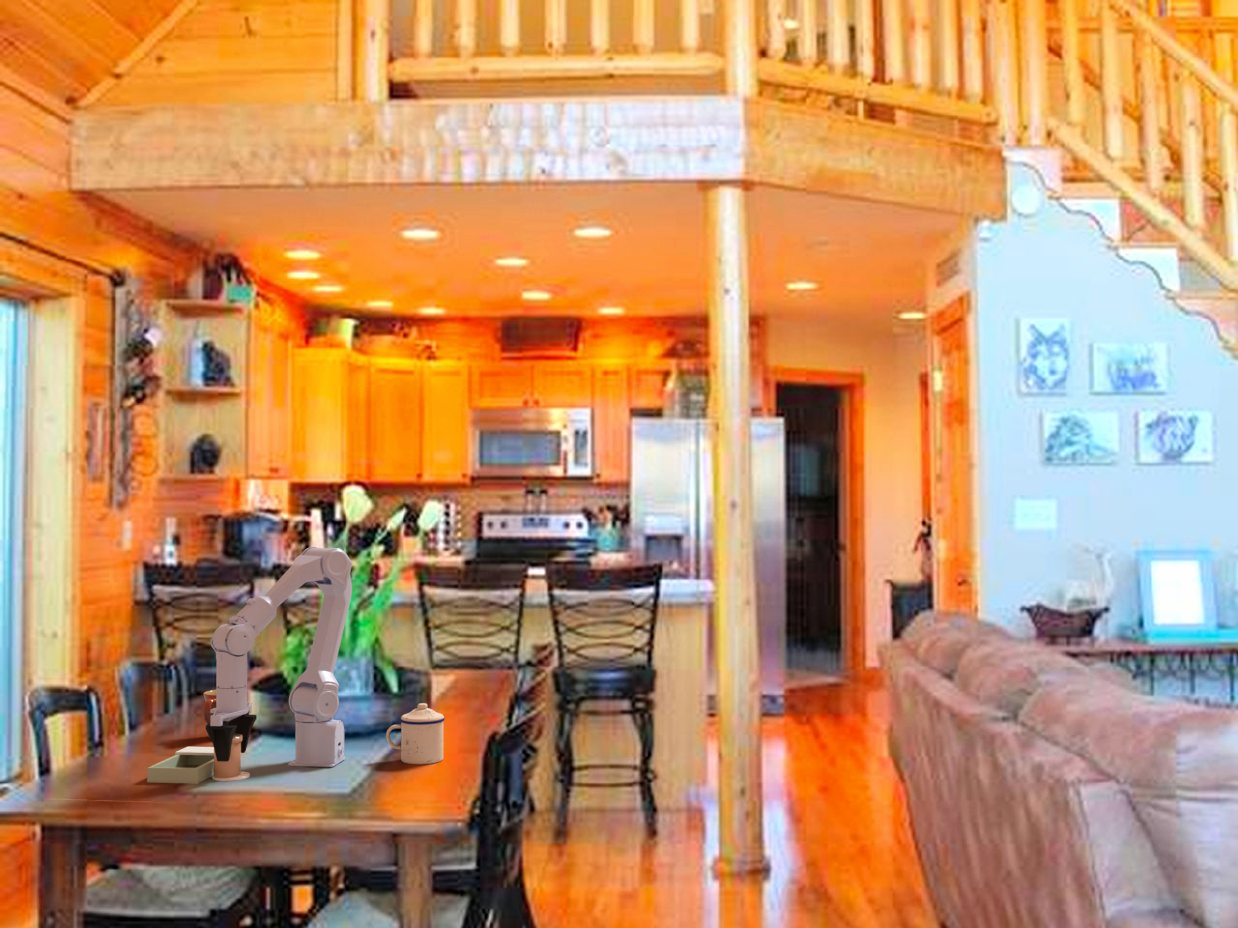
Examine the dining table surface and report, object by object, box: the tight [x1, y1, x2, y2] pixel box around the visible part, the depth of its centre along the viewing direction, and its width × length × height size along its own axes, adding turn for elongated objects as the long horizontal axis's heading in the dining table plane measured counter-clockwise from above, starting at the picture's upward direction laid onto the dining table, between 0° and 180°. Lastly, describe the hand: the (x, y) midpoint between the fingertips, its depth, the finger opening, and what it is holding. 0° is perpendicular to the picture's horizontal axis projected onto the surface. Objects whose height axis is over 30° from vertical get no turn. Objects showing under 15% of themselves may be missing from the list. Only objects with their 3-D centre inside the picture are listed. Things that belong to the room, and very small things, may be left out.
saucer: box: [211, 770, 251, 782], centre depth 240 cm, size 7×7×1 cm
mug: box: [203, 689, 228, 740], centre depth 279 cm, size 12×9×10 cm
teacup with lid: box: [385, 702, 446, 765], centre depth 256 cm, size 12×9×12 cm
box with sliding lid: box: [146, 746, 214, 784], centre depth 243 cm, size 11×18×4 cm, turn 174°
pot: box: [214, 733, 243, 778], centre depth 240 cm, size 6×6×8 cm
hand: (231, 756), depth 240 cm, fingers open, 7 cm apart
